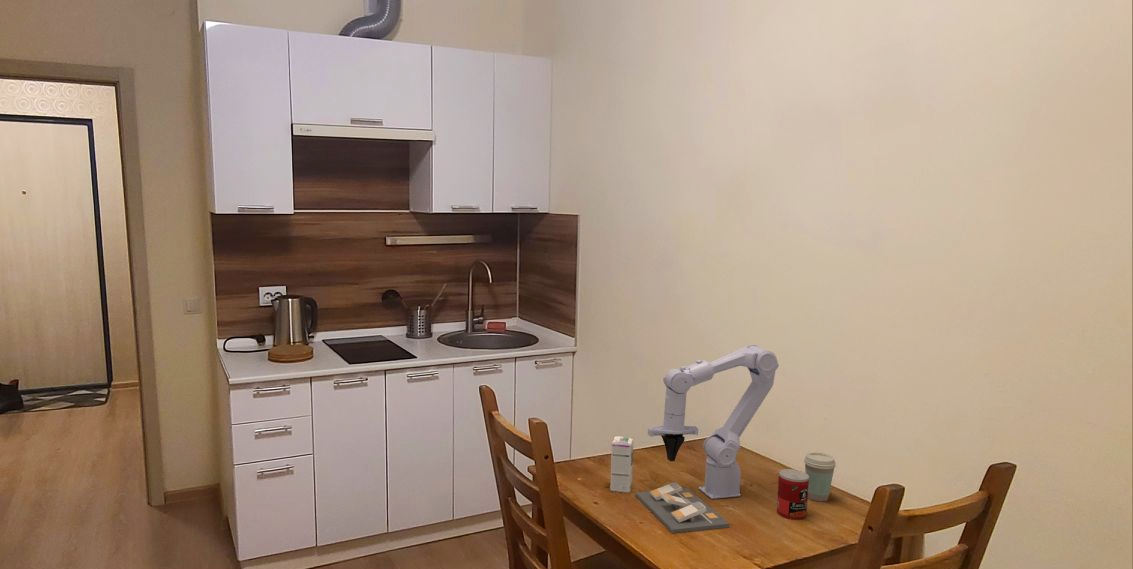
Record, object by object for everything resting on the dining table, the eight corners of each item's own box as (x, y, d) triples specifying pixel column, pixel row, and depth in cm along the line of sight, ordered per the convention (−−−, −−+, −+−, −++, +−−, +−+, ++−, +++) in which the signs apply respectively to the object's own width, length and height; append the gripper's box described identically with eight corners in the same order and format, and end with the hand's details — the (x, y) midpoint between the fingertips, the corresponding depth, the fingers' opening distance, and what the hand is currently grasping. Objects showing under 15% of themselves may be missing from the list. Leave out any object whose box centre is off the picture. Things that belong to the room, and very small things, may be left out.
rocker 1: (676, 484, 203) (675, 481, 203) (682, 490, 199) (681, 486, 199) (650, 495, 201) (649, 491, 201) (656, 500, 197) (655, 496, 197)
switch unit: (687, 491, 208) (687, 484, 207) (729, 527, 185) (729, 519, 185) (635, 495, 203) (635, 488, 203) (672, 533, 180) (672, 525, 180)
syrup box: (629, 493, 205) (632, 443, 203) (609, 490, 206) (611, 441, 204) (632, 485, 210) (634, 437, 209) (612, 483, 211) (614, 435, 210)
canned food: (791, 521, 190) (794, 481, 188) (769, 510, 197) (772, 471, 195) (812, 517, 193) (815, 477, 192) (790, 505, 200) (793, 467, 199)
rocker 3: (699, 504, 190) (698, 500, 189) (706, 511, 186) (705, 507, 186) (672, 516, 188) (671, 512, 187) (679, 522, 184) (678, 518, 184)
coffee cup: (837, 497, 207) (841, 457, 206) (825, 506, 201) (828, 464, 199) (809, 489, 213) (812, 449, 211) (796, 497, 206) (799, 456, 205)
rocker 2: (686, 503, 197) (687, 498, 197) (693, 509, 193) (694, 504, 193) (661, 496, 194) (662, 492, 194) (667, 502, 190) (668, 498, 190)
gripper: (691, 408, 207) (687, 454, 209) (644, 409, 203) (641, 456, 204) (703, 415, 201) (699, 462, 202) (655, 416, 196) (651, 465, 198)
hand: (671, 460), depth 203 cm, fingers closed
